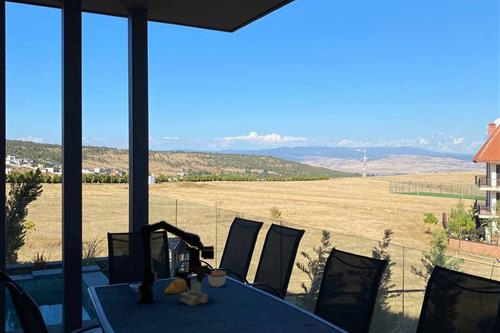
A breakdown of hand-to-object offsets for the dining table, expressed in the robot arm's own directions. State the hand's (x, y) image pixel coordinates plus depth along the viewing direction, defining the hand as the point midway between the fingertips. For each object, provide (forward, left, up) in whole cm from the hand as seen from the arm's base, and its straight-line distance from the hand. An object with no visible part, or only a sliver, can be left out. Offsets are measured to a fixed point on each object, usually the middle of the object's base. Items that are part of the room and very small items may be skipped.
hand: (194, 289), depth 241 cm
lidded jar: (+28, +20, -6) cm, 35 cm away
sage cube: (0, 0, -1) cm, 1 cm away
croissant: (+4, +24, -7) cm, 25 cm away
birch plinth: (0, 0, -6) cm, 6 cm away
